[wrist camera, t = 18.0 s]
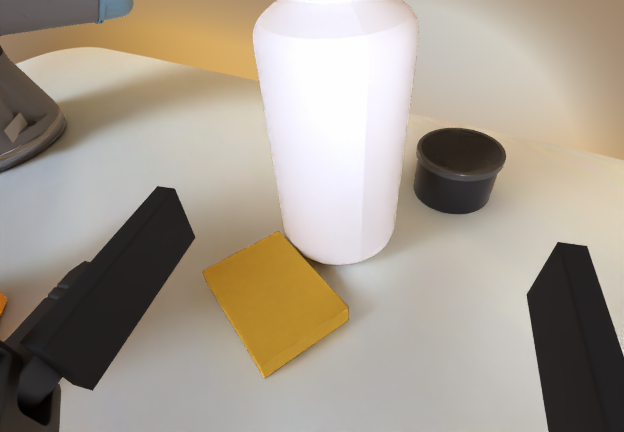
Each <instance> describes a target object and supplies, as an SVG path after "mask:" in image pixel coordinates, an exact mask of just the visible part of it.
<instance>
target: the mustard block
mask: <svg viewBox="0 0 624 432" xmlns="http://www.w3.org/2000/svg"><path fill="white" fill-rule="evenodd" d="M202 273H203V275H204V277H205V280H206V282H207V284H208V286H209V288H210V289H211V291H212V293H213V294H214V296H215V298H216V299H217V301H218V302H219V304H220V306H221V307H222V309H223V311H224V312H225V314H226V316H227V317H228V319H229V321H230V322H231V324H232V326H233V327H234V329H235V331H236V332H237V334H238V336H239V337H240V339H241V341H242V342H243V344H244V346H245V347H246V349H247V351H248V352H249V354H250V356H251V357H252V359H253V361H254V362H255V364H256V366H257V367H258V369H259V371H260V372H261V374H262V376H263V377H264V378H266V377H267V376H269V375H270V374H272V373H273V372H274V371H276V370H277V369H279V368H280V367H282V366H283V365H285V364H286V363H287V362H289V361H290V360H292V359H293V358H295V357H296V356H298V355H299V354H300V353H302V352H303V351H305V350H306V349H308V348H309V347H311V346H312V345H313V344H315V343H316V342H318V341H319V340H321V339H322V338H324V337H325V336H326V335H328V334H329V333H331V332H332V331H334V330H335V329H336V328H338V327H339V326H341V325H342V324H344V323H345V322H347V321H348V320H349V307H348V306H347V305H346V304H345V303H344V302H343V300H342V299H341V298H340V297H339V296H338V295H337V294H336V293H335V292H334V291H333V290H332V288H331V287H330V286H329V285H328V284H327V283H326V282H325V281H324V280H323V279H322V277H321V276H320V275H319V274H318V273H317V272H316V271H315V270H314V269H313V268H312V266H311V265H310V264H309V263H308V262H307V261H306V260H305V259H304V258H303V257H302V256H301V254H300V253H299V252H298V251H297V250H296V249H295V248H294V247H293V246H292V245H291V243H290V242H289V241H288V240H287V239H286V238H285V237H284V236H283V235H282V234H281V232H280V231H277V232H276V233H274V234H272V235H270V236H268V237H266V238H264V239H262V240H260V241H259V242H257V243H255V244H253V245H251V246H249V247H247V248H245V249H243V250H241V251H240V252H238V253H236V254H234V255H232V256H230V257H228V258H226V259H224V260H223V261H221V262H219V263H217V264H215V265H213V266H211V267H209V268H207V269H205V270H204V271H202Z"/></svg>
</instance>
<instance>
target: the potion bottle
mask: <svg viewBox="0 0 624 432" xmlns="http://www.w3.org/2000/svg"><path fill="white" fill-rule="evenodd" d="M418 42H419V32H418V23H417V17H416V15H415V13H414V12H413V10H412V9H411V7H410V6H409V5H407V4H406V3H405V2H403V1H402V0H277V1H276V2H274V3H273V4H272V5H271V6H269V7H268V8H267V9H266V10H265V11H264V12H263V13H262V15H261V16H260V17H259V18H258V20H257V22H256V24H255V26H254V28H253V46H254V53H255V59H256V65H257V71H258V77H259V83H260V89H261V95H262V101H263V107H264V113H265V119H266V124H267V130H268V136H269V142H270V148H271V154H272V160H273V166H274V172H275V178H276V184H277V189H278V195H279V201H280V207H281V213H282V219H283V225H284V231H285V235H286V237H287V239H288V240H289V242H290V243H291V245H292V246H293V247H294V248H295V249H296V250H297V251H298V252H300V253H301V254H302V255H304V256H305V257H306V258H309V259H311V260H314V261H317V262H320V263H322V264H331V265H347V264H353V263H359V262H361V261H363V260H366V259H368V258H370V257H372V256H374V255H376V254H377V253H378V252H379V251H380V250H381V249H382V248H384V247H385V246H386V245H387V244H388V242H389V240H390V238H391V235H392V233H393V231H394V227H395V220H396V212H397V204H398V197H399V189H400V181H401V173H402V166H403V158H404V150H405V142H406V135H407V127H408V119H409V111H410V103H411V95H412V88H413V80H414V72H415V65H416V57H417V49H418Z"/></svg>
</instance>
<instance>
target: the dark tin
mask: <svg viewBox="0 0 624 432" xmlns="http://www.w3.org/2000/svg"><path fill="white" fill-rule="evenodd" d="M416 154H417V158H418V161H417V167H416V173H415V180H414V191H415V194H416V196H417V197H418V198H419V199H420V200H421V201H422V202H423V203H424V204H425V205H427V206H429V207H431V208H433V209H435V210H438V211H441V212H445V213H451V214H465V213H470V212H474V211H477V210H479V209H480V208H482V207H483V206H484V205H485V204H486V203H487V201H488V199H489V196H490V193H491V191H492V188H493V185H494V182H495V179H496V176H497V174H498V172H499V171H500V170H501V169H502V168H503V166H504V163H505V160H506V153H505V150H504V148H503V147H502V145H501V144H500V143H499V142H498V141H496V140H495V139H494V138H492V137H490V136H488V135H486V134H484V133H481V132H478V131H474V130H470V129H463V128H444V129H439V130H435V131H432V132H429V133H428V134H426V135H424V136H423V137H422V138H421V139H420V140H419V142H418V145H417V151H416Z"/></svg>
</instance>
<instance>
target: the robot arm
mask: <svg viewBox="0 0 624 432" xmlns="http://www.w3.org/2000/svg"><path fill="white" fill-rule="evenodd" d="M132 8H133V0H0V36H2V35H8V34H15V33H22V32H28V31H35V30H42V29H49V28H55V27H63V26H69V25H77V24H84V23H92V22H95V23H97V24H98V23H99V24H100V23H102V22H104V20H109V19H114V18H118V17H123V16H126V15H127V14H129V13H130V11H131V10H132ZM65 126H66V119H65V117H64V115H63V113H62V112H61V110H60V108H59V107H58V105H57V104H56V103H55V102H54V101H53V99H52V98H50V97H49V96H48V95H47V94H46V93H45V92H44V91H43V90H42V89H41V88H40V87H39V86H38V85H37V84H35V83H34V82H33V81H32V80H31V79H30V78H29V77H28V76H27V75H26V74H25V73H24V72H23V71H21V70H20V69H19V68H18V67H17V66H16V65H15V64H14V63H13V62H12V61H11V60H10V59H9V58H8V57H7V55H6V54H5V52H4V51H3V49H2V48H1V46H0V171H2V170H4V169H7V168H10V167H12V166H14V165H17V164H19V163H21V162H23V161H25V160H27V159H29V158H31V157H32V156H34V155H36V154H38V153H39V152H41V151H42V150H44V149H45V148H47V147H48V146H49V145H51V144H52V143H53V142H54V141H55V140H56V139H57V138H58V137H59V136H60V135H61V134H62V132H63V130H64V129H65ZM194 239H195V235H194V233H193V231H192V228H191V226H190V224H189V221H188V219H187V216H186V214H185V212H184V209H183V207H182V204H181V202H180V200H179V197H178V195H177V193H176V190H175V189H174V188H166V187H159V186H157V188H156V189H155V190H154V191H153V192H152V193H151V194H150V195H149V197H148V198H147V199H146V200H145V201H144V202H143V203H142V205H141V206H140V207H139V208H138V209H137V210H136V211H135V212H134V214H133V215H132V216H131V217H130V218H129V219H128V220H127V221H126V223H125V224H124V225H123V226H122V227H121V228H120V229H119V230H118V232H117V233H116V234H115V235H114V236H113V237H112V238H111V240H110V241H109V242H108V243H107V244H106V245H105V246H104V247H103V249H102V250H101V251H100V252H99V253H98V254H97V255H96V256H95V258H94V259H93V260H92V261H91V262H87V261H84V262H83V263H81V264H80V265H78V266H77V267H75V268H74V269H72V270H71V271H69V272H68V274H67V275H66V276H65V277H64V278H63V279H62V280H61V281H60V282H59V283H58V284H57V285H58V286H57V287H55V288H54V289H53V290H52V291H51V292H50V293H49V294H48V297H47V298H45V299H44V300H43V301H42V302H41V303H40V304H39V305H38V306H37V307H36V308H35V310H34V311H33V312H32V313H31V314H30V315H29V316H28V317H27V318H26V319H25V321H24V322H23V323H22V324H21V325H20V326H19V327H18V328H17V329H16V330H15V331H14V333H13V334H12V335H11V336H10V337H9V338H8V339H7V340H5V341H4V342H2V341H1V340H0V432H59V424H60V402H61V389H60V385H59V384H58V383H59V381H60V380H61V379H62V377H64V378H65V379H66V380H68V381H69V382H70V383H72V384H73V385H76V386H79V387H83V388H86V389H89V390H92V391H93V389H94V388H95V386H96V385H97V383H98V382H99V380H100V379H101V377H102V376H103V374H104V373H105V371H106V370H107V368H108V367H109V365H110V364H111V362H112V361H113V359H114V358H115V356H116V355H117V354H118V352H119V351H120V349H121V348H122V346H123V345H124V343H125V342H126V340H127V339H128V337H129V336H130V334H131V333H132V331H133V330H134V328H135V327H136V325H137V324H138V322H139V321H140V319H141V318H142V316H143V315H144V313H145V312H146V310H147V309H148V307H149V306H150V304H151V303H152V301H153V300H154V298H155V297H156V295H157V294H158V292H159V291H160V289H161V288H162V286H163V285H164V283H165V282H166V280H167V279H168V277H169V276H170V275H171V273H172V272H173V270H174V269H175V267H176V266H177V264H178V263H179V261H180V260H181V258H182V257H183V255H184V254H185V252H186V251H187V249H188V248H189V246H190V245H191V243H192V242H193V240H194ZM527 300H528V306H529V313H530V319H531V325H532V331H533V337H534V344H535V350H536V356H537V362H538V369H539V375H540V381H541V387H542V393H543V400H544V406H545V412H546V418H547V425H548V431H549V432H624V356H623V353H622V350H621V347H620V344H619V341H618V338H617V335H616V332H615V329H614V326H613V323H612V320H611V317H610V314H609V311H608V308H607V305H606V302H605V299H604V296H603V293H602V290H601V287H600V284H599V281H598V278H597V275H596V272H595V269H594V266H593V263H592V260H591V257H590V254H589V251H588V248H587V246H582V245H575V244H568V243H561V242H558V243H557V244H556V246H555V248H554V249H553V251H552V253H551V255H550V256H549V258H548V260H547V261H546V263H545V265H544V266H543V268H542V270H541V271H540V273H539V275H538V276H537V278H536V280H535V281H534V283H533V285H532V287H531V288H530V290H529V292H528V293H527Z"/></svg>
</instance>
